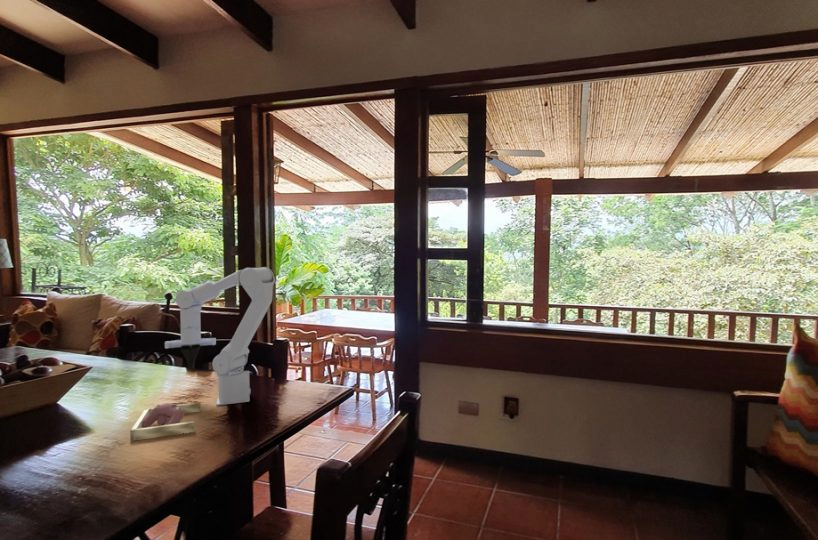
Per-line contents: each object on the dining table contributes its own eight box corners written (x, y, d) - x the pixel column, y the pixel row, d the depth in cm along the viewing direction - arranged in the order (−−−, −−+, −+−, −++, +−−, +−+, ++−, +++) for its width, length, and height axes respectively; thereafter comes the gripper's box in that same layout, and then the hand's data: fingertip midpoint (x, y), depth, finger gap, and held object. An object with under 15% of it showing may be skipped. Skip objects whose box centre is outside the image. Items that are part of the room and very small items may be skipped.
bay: (200, 410, 120) (200, 402, 120) (193, 432, 105) (193, 422, 105) (145, 417, 115) (145, 408, 115) (130, 441, 100) (130, 431, 100)
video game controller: (180, 434, 108) (190, 406, 111) (166, 432, 104) (177, 404, 107) (153, 428, 111) (163, 402, 114) (139, 427, 107) (149, 400, 110)
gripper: (216, 323, 137) (216, 363, 138) (167, 326, 132) (168, 367, 133) (214, 326, 131) (215, 368, 131) (163, 329, 126) (163, 373, 126)
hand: (191, 368), depth 132 cm, fingers closed
